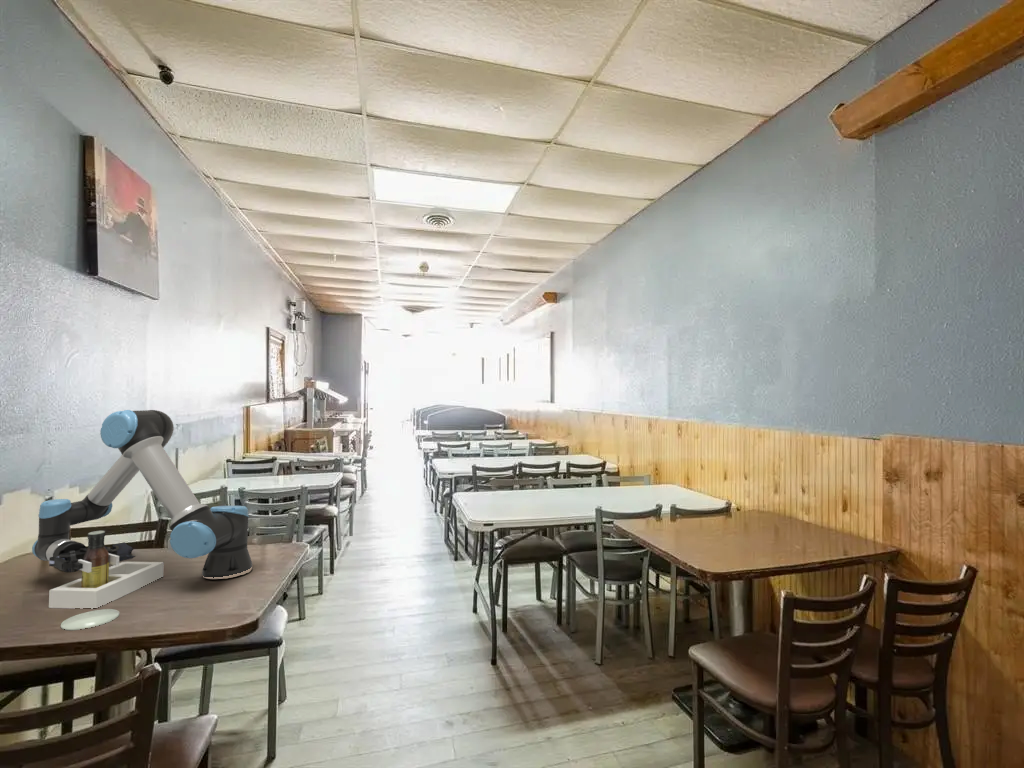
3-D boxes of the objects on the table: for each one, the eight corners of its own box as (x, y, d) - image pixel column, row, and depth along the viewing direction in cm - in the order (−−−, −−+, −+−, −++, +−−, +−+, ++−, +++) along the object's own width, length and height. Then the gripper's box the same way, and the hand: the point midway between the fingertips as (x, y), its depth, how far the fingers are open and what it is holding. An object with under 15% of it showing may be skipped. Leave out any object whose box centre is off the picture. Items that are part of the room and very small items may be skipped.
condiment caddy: (163, 577, 166) (163, 562, 166) (95, 608, 140) (96, 591, 140) (123, 576, 166) (123, 561, 166) (48, 607, 141) (49, 590, 141)
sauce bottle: (91, 594, 150) (94, 529, 151) (113, 594, 151) (116, 528, 152) (74, 603, 144) (77, 534, 145) (97, 602, 144) (100, 534, 145)
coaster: (130, 611, 139) (130, 609, 139) (92, 630, 127) (92, 628, 127) (89, 610, 139) (89, 608, 139) (47, 629, 127) (47, 627, 127)
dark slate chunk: (48, 567, 176) (48, 554, 176) (120, 551, 195) (121, 539, 195) (66, 575, 169) (67, 561, 169) (139, 557, 188) (140, 545, 188)
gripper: (102, 556, 164) (140, 567, 154) (26, 574, 147) (62, 587, 137) (103, 534, 165) (141, 543, 154) (27, 548, 148) (63, 560, 137)
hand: (104, 564), depth 145 cm, fingers closed on sauce bottle, 6 cm apart
